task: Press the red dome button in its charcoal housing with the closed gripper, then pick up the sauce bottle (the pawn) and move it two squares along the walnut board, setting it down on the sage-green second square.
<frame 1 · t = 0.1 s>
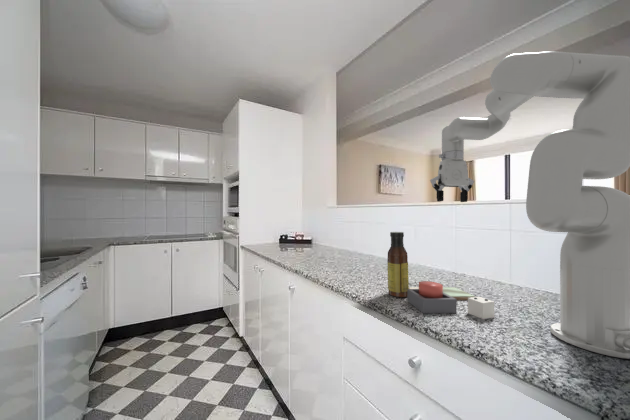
hand: (452, 201, 95), 31 cm above the countertop, tool pointing down, fingers open, 9 cm apart
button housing: (430, 306, 68), on the countertop
sauce bottle: (397, 295, 77), on the countertop
board: (439, 294, 78), on the countertop
die: (480, 315, 62), on the countertop
dome button: (430, 289, 68), point 5 cm above the countertop, slide at 0.0 cm
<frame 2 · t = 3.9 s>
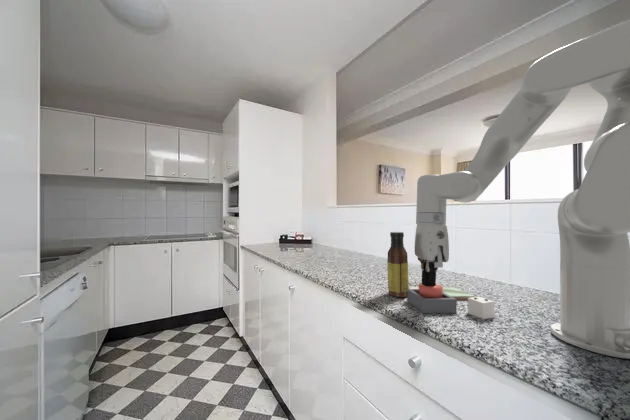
hand: (428, 285, 68), 6 cm above the countertop, tool pointing down, fingers closed
dome button: (430, 291, 68), point 4 cm above the countertop, slide at 0.5 cm, touching gripper
everything else where it was.
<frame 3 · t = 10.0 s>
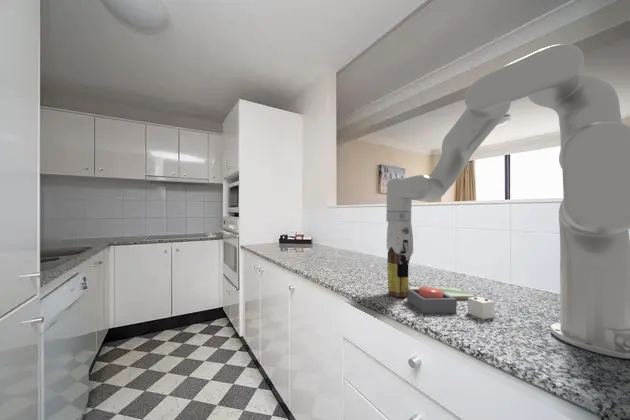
hand: (397, 273, 77), 7 cm above the countertop, tool pointing down, fingers closed on sauce bottle, 6 cm apart
sauce bottle: (397, 295, 77), on the countertop, touching gripper
dome button: (430, 295, 68), point 3 cm above the countertop, slide at 1.7 cm
everything else where it was.
when the fingers open (9 cm above the countertop, at t = 15.7 s): sauce bottle stays where it is, resting on board.
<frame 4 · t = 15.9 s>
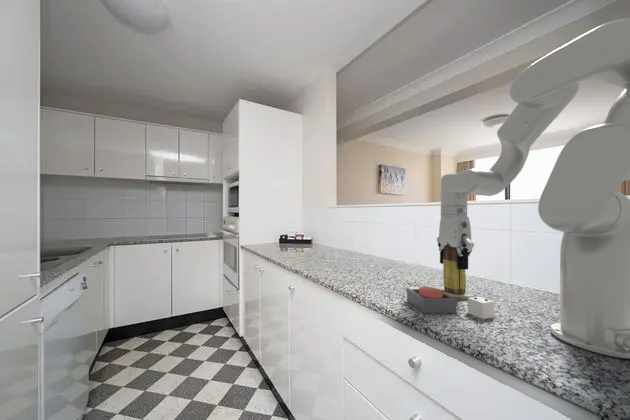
hand: (453, 265, 79), 9 cm above the countertop, tool pointing down, fingers open, 8 cm apart
sauce bottle: (454, 292, 78), point 1 cm above the countertop, touching board
everything else where it was.
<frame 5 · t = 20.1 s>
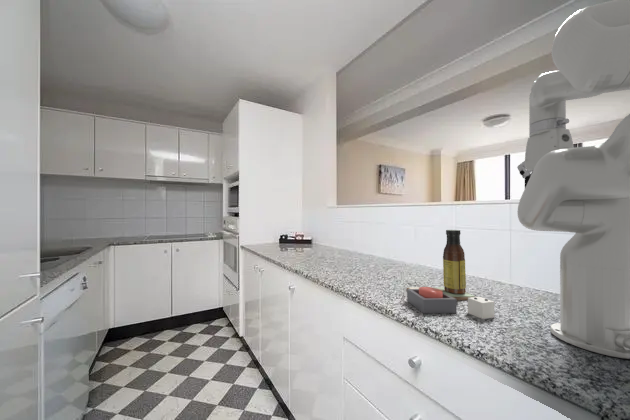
hand: (546, 189, 69), 33 cm above the countertop, tool pointing down, fingers open, 9 cm apart
nothing on the countertop moved.
at the end: sauce bottle inside the target area (0.5 cm from its centre), point 0.8 cm above the countertop; sauce bottle tilted 0°; dome button slide at 1.7 cm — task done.
